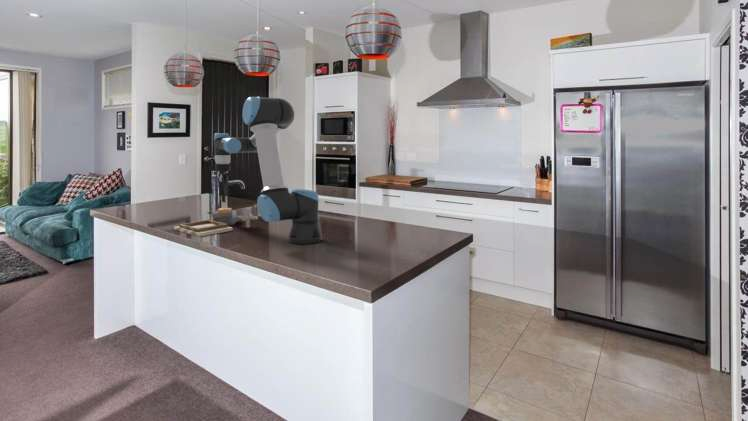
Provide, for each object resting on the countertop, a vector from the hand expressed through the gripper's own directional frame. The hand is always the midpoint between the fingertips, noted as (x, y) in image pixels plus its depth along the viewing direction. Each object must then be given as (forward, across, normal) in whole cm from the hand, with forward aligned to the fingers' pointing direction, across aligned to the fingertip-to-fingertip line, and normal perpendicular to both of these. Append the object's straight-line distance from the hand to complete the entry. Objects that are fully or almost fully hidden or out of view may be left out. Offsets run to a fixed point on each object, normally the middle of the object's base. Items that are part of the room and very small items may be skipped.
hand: (224, 207), depth 235 cm
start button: (+4, 0, 0) cm, 4 cm away
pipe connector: (+8, +11, +14) cm, 20 cm away
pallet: (+8, +18, -6) cm, 21 cm away
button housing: (+8, 0, 0) cm, 8 cm away
